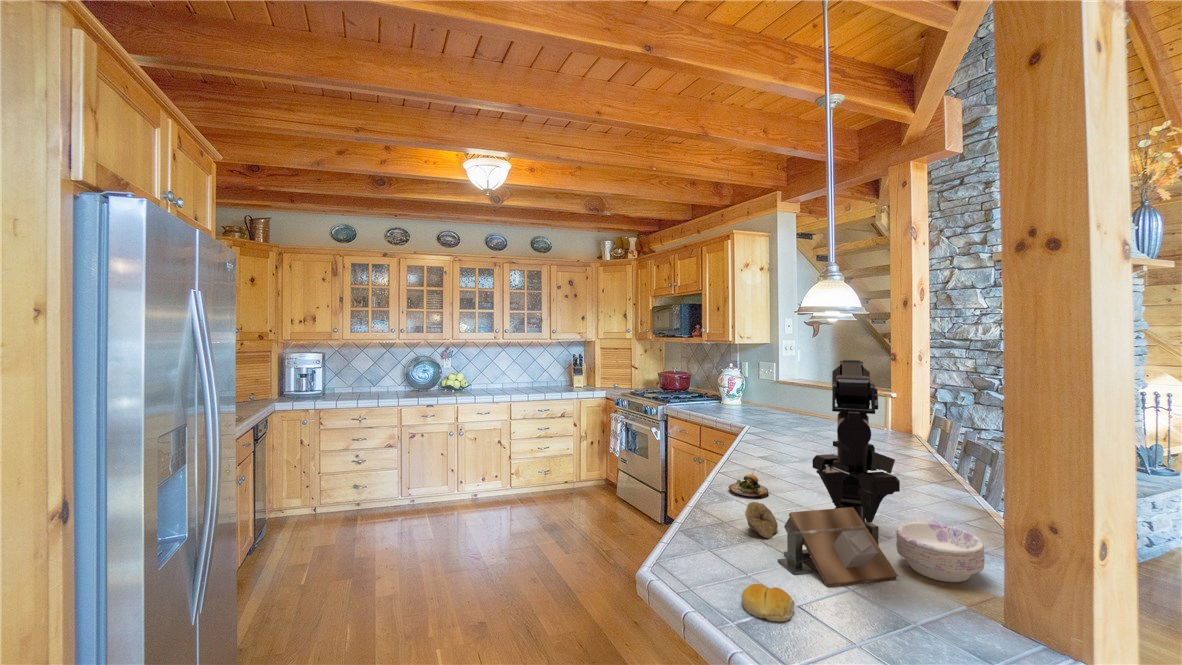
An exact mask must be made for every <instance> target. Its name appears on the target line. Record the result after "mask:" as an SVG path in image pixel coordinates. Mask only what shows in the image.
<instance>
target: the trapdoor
mask: <svg viewBox="0 0 1182 665" xmlns="http://www.w3.org/2000/svg"><path fill="white" fill-rule="evenodd" d="M835 508H836V507H835ZM835 508H826V509H813V510H801V511H791V512H789V513H788V519H787V520H786V522H785V524H784V525H783V528H784V529H785V531H786V532H787V529H788V528H795V529H796V530H798V531H799V532H801V533H803V546H804V547H805V550H806V549H807V551H808V553H809V555H810V556H811V557H810V558H811V560H812V562H813V564H814V566H815V567H816V571H817V572H818V573H819V576H820V578H821V579H822V580H823V583H824V585H825V586H826V587H833V586H842V585H850V584H851V585H853V584H859V583H867V582H875V581H876V582H877V581H883V580H891V579H892V580H893V579H897V577H898V576H899V575H898V574H897V572H896V571H895V569H894V568H893V566H892V564H891V562H890V561H889V560H888V559H887V557H886V555H885V553H884V552H883V550H882V548H881V547H880V546H879V543H878V544H877V543H876V541H875V540H874V538H873V537H872V535H871V534H870V532H869V531H868V529H867V527H866V526H865V524H864V523H863V521H862V520H861V518H860V517H859V515H858V514H857V512H856V511H855V509H854V508H853V507H848V508H836V509H835ZM857 530H864V531H865V533H866V535H867V536H868V538H869V539H870V541H871V542H872V544H873V546H874V547H875V549H876V550H877V552H878V553H877V555H876V556H875V557H874V558H873V559H872V560H871V562H870V563H869V564H868V565H867V566H861V567H851V568H845V566H844V565H843V563H842V561H841V559H840V558H839V556H838V554H837V552H836V551H835V549H834V547H833V544H834V542H835V541H836V540H837V538H838V537H839V536H840V534H841V533H842V532H846V531H857Z"/></svg>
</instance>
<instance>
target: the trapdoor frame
mask: <svg viewBox="0 0 1182 665" xmlns="http://www.w3.org/2000/svg"><path fill="white" fill-rule="evenodd" d="M863 523H864V524H865V526H866V527H867V529H868V531H869V532H870V534H871V535H872V537H873V538H874V540H875V541H876V543H877V544H878V545H879V526H878V524H877V525H876V524H875V523H873V522H869V523H868V522H866V521H865V522H863ZM786 533H787V536H786V539H787V542H786V544H787V547H786V548H787V550H786V551H783V557H784V558H779V559H778V558H777V563H778V564H779V565H780V566H782V567H784V569H786V570H787V571H788V572H789V573H791V574H792V575H794V576H797V575H805V574H813V573H814V570H813V569H812V567H811V568H810V567H809V565H807V564H805V563H804V562H803V558H804V559H805V558H811V556H810V555H809V553H808V551H807V549H806V548H805V549H803V548H804V547H803V546H804V545H803V533H801V532H799V531H798V530H796V529H795V528H788V529H787V531H786Z"/></svg>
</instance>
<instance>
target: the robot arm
mask: <svg viewBox="0 0 1182 665" xmlns="http://www.w3.org/2000/svg"><path fill="white" fill-rule="evenodd" d="M870 372H871V371H869V370H868V369H867V368H865V366H864V361H862V360H860V359H859V360H858V359H856V360H855V359H842V360H840V361H839V366H837V367H836V368H835V369H834V370H832V372H831V373H832V375H831V378H832V379H831V380H832V381H831V383H832V384H831V386H832V387H831V389H832V395H831V397H832V400H831V401H832V403H831V404H832V405H831V411H832V412H835V413H836V412H837V413H838V414H837V423H836V424H837V429H836V433H837V435H836V436H837V440H833V441H832V447H836V450H837V454H834V453H830V454H828V453H827V454H816V455H815V456H814V457H813V458H812V468H813V469H815V470H816V471H815V472H816V474H818V476H819V477H820V479H821V481H822V483H823V484H824V486H825V489H826V490H827V493H828V494H829V498H830V499H831V501H832V503H833V504H834V509H836V508H848V507H853V508H854V509H855V511H856V512H857V514H858V515H859V517H860V518H861V520H862V521H863V522H868V523H869V522H871V523H873V521H874V519H875V516H876V514H877V512H878V509H879V507H880V505H881V502H882V501H883V500H884V498H886V496H888V495H893V494H894V493H897V492H901V491H900V489H901V486H900V485H901V483H900V482H901V480H900V479H899V478H898V477H897V476H895V475H894V474H892V472H893V468H894V465H895V462H896V459H895V458H892V457H890V456H887V455H884V454H882V453H878V452H876V449H875V448H876V447H875V445H874V444H872V443H869V442H870V441H871V439H872V430H871V426H870V422H869V419H870V418H869V416H868V414H870V415H876V411H877V410H879V395H878V388H876V385H875V383H871V373H870ZM870 407H871V408H870ZM877 470H878V471H877ZM869 471H871V472H869Z"/></svg>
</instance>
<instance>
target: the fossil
mask: <svg viewBox="0 0 1182 665" xmlns="http://www.w3.org/2000/svg"><path fill="white" fill-rule="evenodd" d="M744 515H745V518H746V521H747V525H748V527H749V528H751V529H752V530H753V531H754V532H755V533H757V534H759V535H760V536H761V537H763V538H765V539H771V538H772V537H773V536H774V534H776V533H777V531H778V525H779V524H778V522H777V519H776V518H775V515H774V514H773V512H772V510H771V509H769V508H768V507H767V506H766V505H765V504H764V503H763V502H762V503H761V502H757V501H751V502H749V503H748V504H747V505H746V509H745V512H744Z"/></svg>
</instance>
